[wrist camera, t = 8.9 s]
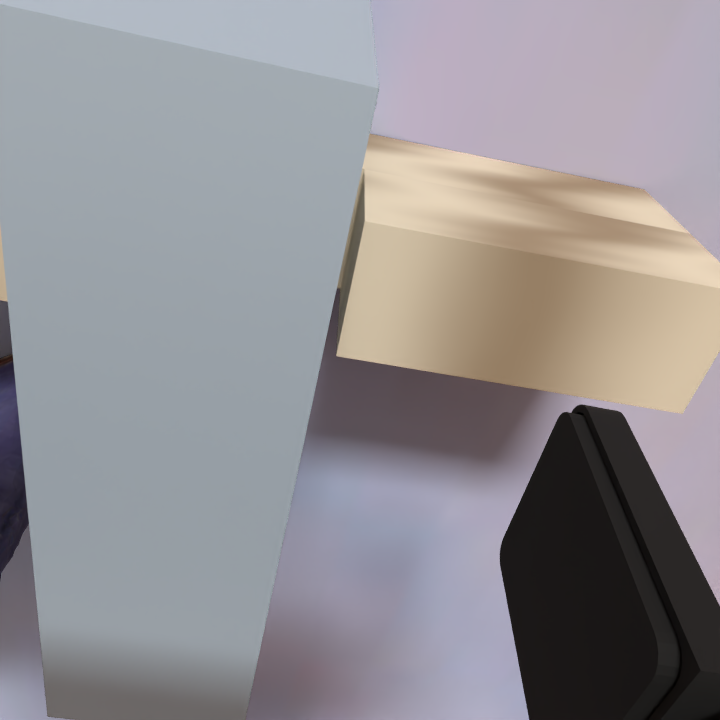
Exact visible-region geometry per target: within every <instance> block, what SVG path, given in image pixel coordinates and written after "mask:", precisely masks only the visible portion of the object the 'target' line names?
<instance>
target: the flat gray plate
mask: <svg viewBox="0 0 720 720" xmlns="http://www.w3.org/2000/svg"><path fill="white" fill-rule="evenodd" d="M378 92H379V81H378V71H377V61H376V51H375V41H374V31H373V21H372V11H371V0H0V227H1V237H2V248H3V258H4V269H5V279H6V290H7V300H8V310H9V321H10V331H11V342H12V352H13V362H14V373H15V383H16V394H17V404H18V415H19V425H20V435H21V446H22V456H23V467H24V477H25V487H26V498H27V508H28V519H29V529H30V540H31V550H32V560H33V571H34V581H35V592H36V602H37V612H38V623H39V633H40V644H41V654H42V665H43V675H44V685H45V696H46V706H47V717H55V718H65V719H74V720H245V718H246V713H247V709H248V704H249V699H250V695H251V690H252V685H253V680H254V676H255V671H256V666H257V662H258V657H259V652H260V647H261V643H262V638H263V633H264V629H265V624H266V619H267V614H268V610H269V605H270V600H271V596H272V591H273V586H274V582H275V577H276V572H277V567H278V563H279V558H280V553H281V549H282V544H283V539H284V534H285V530H286V525H287V520H288V516H289V511H290V506H291V501H292V497H293V492H294V487H295V483H296V478H297V473H298V469H299V464H300V459H301V454H302V450H303V445H304V440H305V436H306V431H307V426H308V421H309V417H310V412H311V407H312V403H313V398H314V393H315V388H316V384H317V379H318V374H319V370H320V365H321V360H322V356H323V351H324V346H325V341H326V337H327V332H328V327H329V323H330V318H331V313H332V308H333V304H334V299H335V294H336V290H337V285H338V280H339V275H340V271H341V266H342V261H343V257H344V252H345V247H346V243H347V238H348V233H349V228H350V224H351V219H352V214H353V210H354V205H355V200H356V195H357V191H358V186H359V181H360V177H361V172H362V167H363V162H364V158H365V153H366V148H367V144H368V139H369V134H370V130H371V125H372V120H373V115H374V111H375V106H376V101H377V97H378Z"/></svg>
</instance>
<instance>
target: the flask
mask: <svg viewBox="0 0 720 720" xmlns="http://www.w3.org/2000/svg"><path fill="white" fill-rule="evenodd" d="M28 524H29V519H28V508H27V498H26V487H25V477H24V467H23V456H22V446H21V435H20V425H19V415H18V404H17V394H16V383H15V373H14V362H13V354H12V355H9V356H7V357H3V358H0V579H1V573H2V571H3V569H4V568H5V566H6V565H7V563H8V562H9V561H10V559H11V558H12V557H13V554H14V551H15V549H16V547H17V546H18V544H19V542H20V539H21V536H22V533H23V532H24V530H25V529H26V527H27V526H28Z"/></svg>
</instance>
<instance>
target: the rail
mask: <svg viewBox="0 0 720 720" xmlns="http://www.w3.org/2000/svg"><path fill="white" fill-rule="evenodd" d="M337 288H339V289H340V299H339V316H338V333H337V350H336V356H338V357H344V358H350V359H356V360H362V361H368V362H374V363H380V364H386V365H392V366H398V367H404V368H410V369H416V370H422V371H428V372H434V373H440V374H446V375H452V376H458V377H464V378H471V379H477V380H483V381H489V382H495V383H501V384H507V385H513V386H519V387H525V388H531V389H537V390H543V391H549V392H555V393H561V394H567V395H573V396H579V397H585V398H591V399H597V400H603V401H609V402H615V403H621V404H627V405H633V406H639V407H645V408H651V409H657V410H663V411H669V412H675V413H681V414H683V412H684V410H685V409H686V407H687V405H688V404H689V402H690V400H691V399H692V397H693V395H694V393H695V392H696V390H697V388H698V387H699V385H700V383H701V382H702V380H703V378H704V377H705V375H706V373H707V371H708V370H709V368H710V366H711V365H712V363H713V361H714V360H715V358H716V356H717V355H718V353H719V351H720V262H719V261H718V260H717V259H716V258H715V257H714V256H713V255H712V254H711V253H709V252H708V251H707V250H706V249H705V248H704V247H703V246H702V245H701V244H700V243H699V242H698V241H697V240H696V239H695V238H694V237H693V236H692V235H691V234H690V233H689V232H688V231H687V230H686V229H685V228H684V227H683V226H681V225H680V224H679V223H678V222H677V221H676V220H675V219H674V218H673V217H672V216H671V215H670V214H669V213H668V212H667V211H666V210H665V209H664V208H663V207H662V206H661V205H660V204H659V203H658V202H657V201H656V200H655V199H653V198H652V197H651V196H650V195H649V194H648V193H647V192H646V191H645V190H644V189H639V188H634V187H629V186H624V185H619V184H614V183H610V182H605V181H600V180H595V179H590V178H585V177H580V176H575V175H570V174H565V173H560V172H555V171H550V170H546V169H541V168H536V167H531V166H526V165H521V164H516V163H511V162H506V161H501V160H496V159H491V158H487V157H482V156H477V155H472V154H467V153H462V152H457V151H452V150H447V149H442V148H437V147H432V146H427V145H423V144H418V143H413V142H408V141H403V140H398V139H393V138H388V137H383V136H378V135H373V134H369V139H368V144H367V148H366V153H365V158H364V162H363V167H362V172H361V177H360V181H359V186H358V191H357V195H356V200H355V205H354V210H353V214H352V219H351V224H350V228H349V233H348V238H347V243H346V247H345V252H344V257H343V261H342V266H341V271H340V275H339V280H338V285H337ZM0 300H2V301H8V300H7V290H6V279H5V269H4V258H3V248H2V237H1V227H0Z"/></svg>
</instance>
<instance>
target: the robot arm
mask: <svg viewBox="0 0 720 720" xmlns="http://www.w3.org/2000/svg"><path fill="white" fill-rule="evenodd" d="M500 566H501V571H502V577H503V582H504V587H505V593H506V598H507V603H508V609H509V614H510V619H511V624H512V630H513V635H514V640H515V646H516V651H517V656H518V662H519V667H520V672H521V678H522V683H523V688H524V693H525V699H526V704H527V709H528V715H529V720H720V606H719V604H718V602H717V600H716V598H715V596H714V594H713V592H712V590H711V588H710V586H709V584H708V582H707V580H706V578H705V576H704V574H703V572H702V570H701V568H700V566H699V564H698V562H697V560H696V558H695V556H694V554H693V552H692V550H691V548H690V546H689V544H688V542H687V540H686V538H685V536H684V534H683V532H682V530H681V528H680V526H679V524H678V522H677V520H676V518H675V516H674V514H673V512H672V510H671V508H670V506H669V504H668V502H667V500H666V498H665V496H664V494H663V492H662V490H661V488H660V486H659V484H658V482H657V480H656V478H655V476H654V474H653V472H652V470H651V468H650V466H649V464H648V462H647V460H646V458H645V456H644V454H643V452H642V450H641V448H640V446H639V445H638V443H637V441H636V439H635V437H634V435H633V433H632V431H631V429H630V427H629V425H628V423H627V421H626V419H625V417H624V416H623V414H622V413H621V412H618V411H615V410H609V409H603V408H598V407H592V406H587V405H578V406H577V407H576V408H574V409H573V411H572V413H568V412H564V413H562V414H561V415H560V416H559V418H558V420H557V422H556V424H555V426H554V428H553V430H552V433H551V435H550V437H549V439H548V441H547V444H546V446H545V448H544V450H543V452H542V455H541V457H540V459H539V461H538V463H537V466H536V468H535V470H534V472H533V474H532V477H531V479H530V481H529V483H528V485H527V487H526V490H525V492H524V494H523V496H522V498H521V501H520V503H519V505H518V507H517V509H516V512H515V514H514V516H513V518H512V520H511V523H510V525H509V527H508V529H507V531H506V533H505V536H504V538H503V541H502V544H501V549H500Z"/></svg>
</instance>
